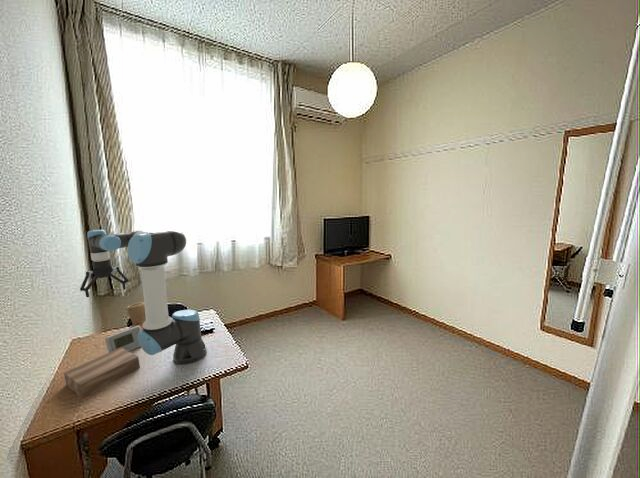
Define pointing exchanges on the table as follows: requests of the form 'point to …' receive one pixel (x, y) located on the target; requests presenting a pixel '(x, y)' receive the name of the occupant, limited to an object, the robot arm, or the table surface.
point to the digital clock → (124, 339)
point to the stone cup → (137, 314)
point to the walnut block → (101, 371)
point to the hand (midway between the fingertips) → (107, 298)
